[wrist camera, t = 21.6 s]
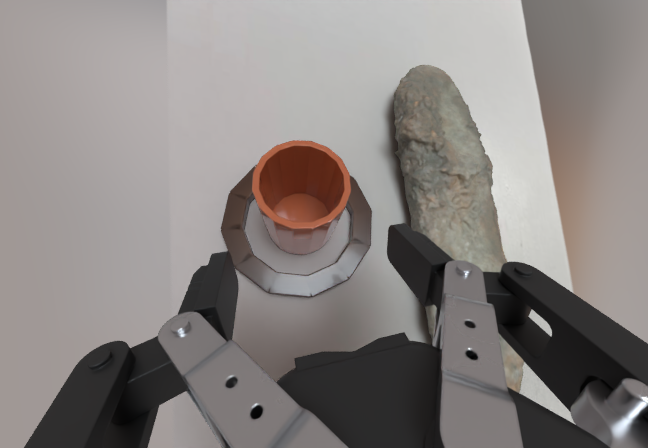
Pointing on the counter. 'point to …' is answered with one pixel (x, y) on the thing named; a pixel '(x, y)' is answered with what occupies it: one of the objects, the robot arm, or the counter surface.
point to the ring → (285, 281)
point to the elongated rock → (449, 181)
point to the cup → (301, 194)
